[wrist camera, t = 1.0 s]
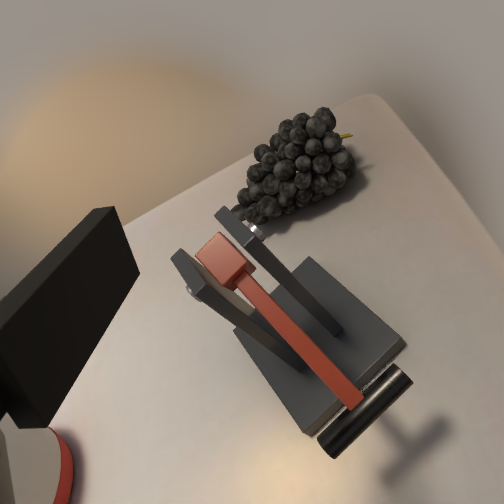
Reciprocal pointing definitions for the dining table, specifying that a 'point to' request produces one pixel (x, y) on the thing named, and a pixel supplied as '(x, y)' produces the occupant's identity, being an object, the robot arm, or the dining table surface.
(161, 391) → the dining table surface
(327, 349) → the bracket
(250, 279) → the lever
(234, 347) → the dining table surface
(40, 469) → the citrus juicer
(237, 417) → the dining table surface
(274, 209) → the fruit
